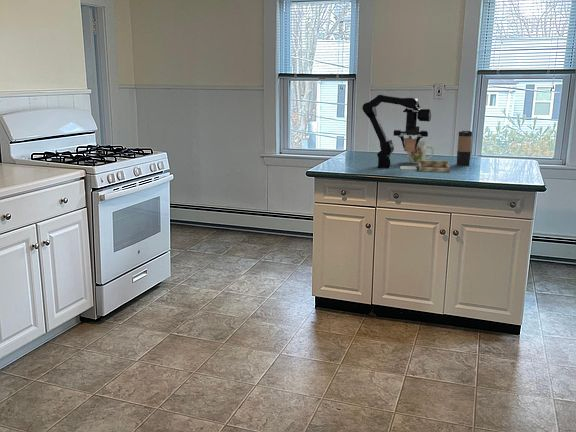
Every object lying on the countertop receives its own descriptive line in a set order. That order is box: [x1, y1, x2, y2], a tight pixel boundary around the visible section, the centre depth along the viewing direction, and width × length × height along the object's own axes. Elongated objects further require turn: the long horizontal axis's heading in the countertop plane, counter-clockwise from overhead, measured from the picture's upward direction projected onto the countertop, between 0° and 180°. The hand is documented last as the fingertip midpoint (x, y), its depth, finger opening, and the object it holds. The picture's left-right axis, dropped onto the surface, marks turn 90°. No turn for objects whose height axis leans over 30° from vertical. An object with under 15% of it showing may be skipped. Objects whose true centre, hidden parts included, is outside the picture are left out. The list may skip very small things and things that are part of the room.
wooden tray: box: [417, 160, 451, 173], centre depth 320 cm, size 16×16×4 cm
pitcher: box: [404, 140, 435, 165], centre depth 340 cm, size 11×18×14 cm, turn 81°
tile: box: [399, 165, 418, 171], centre depth 323 cm, size 9×9×1 cm
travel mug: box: [456, 130, 473, 167], centre depth 332 cm, size 8×8×20 cm
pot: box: [403, 135, 417, 153], centre depth 319 cm, size 7×7×9 cm
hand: (409, 148), depth 320 cm, fingers closed on pot, 6 cm apart
